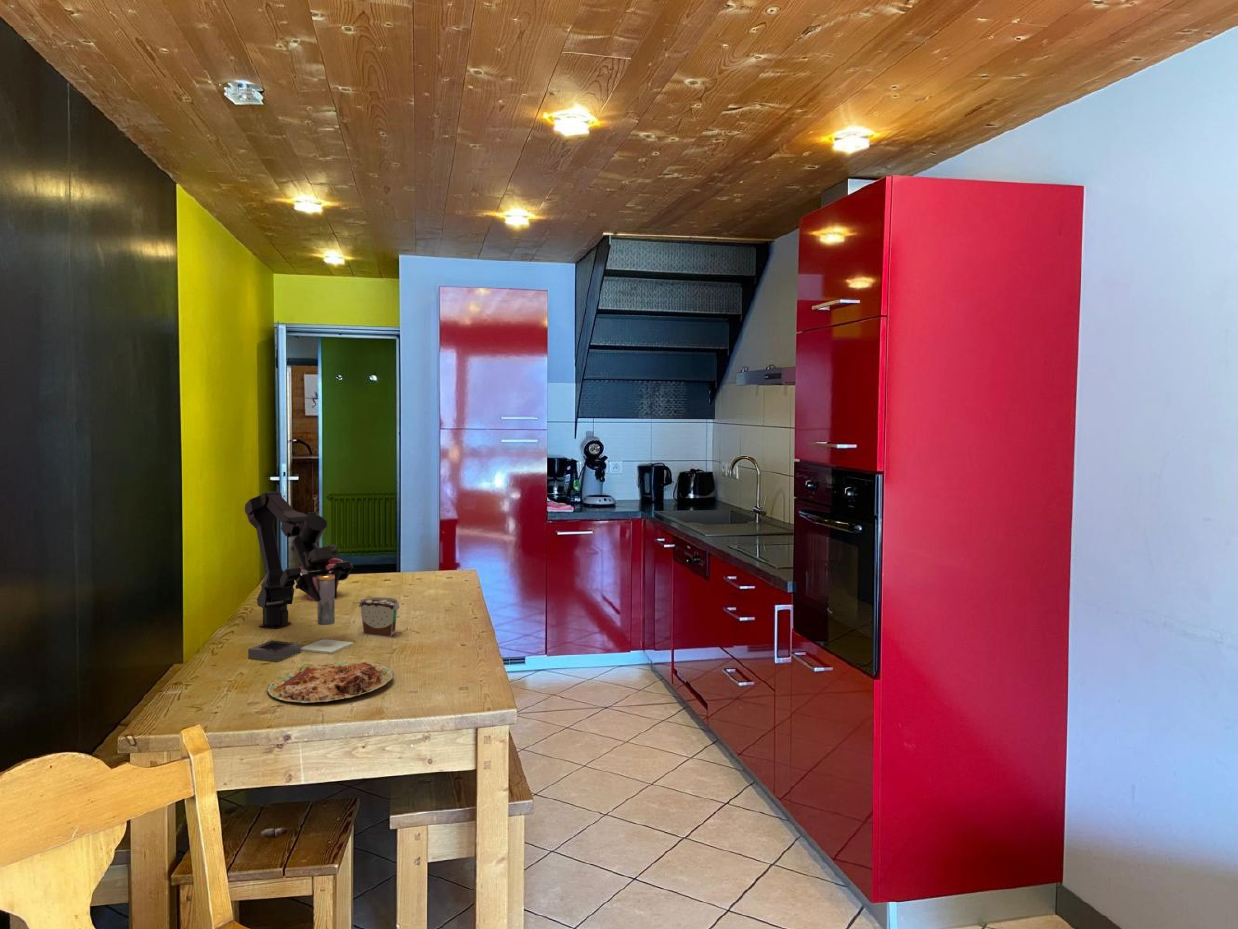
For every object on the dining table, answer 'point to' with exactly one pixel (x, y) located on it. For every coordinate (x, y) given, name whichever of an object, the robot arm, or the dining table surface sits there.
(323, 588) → the steel peg
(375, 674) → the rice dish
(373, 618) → the food container
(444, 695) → the dining table surface
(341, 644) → the rest pad
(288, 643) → the block
